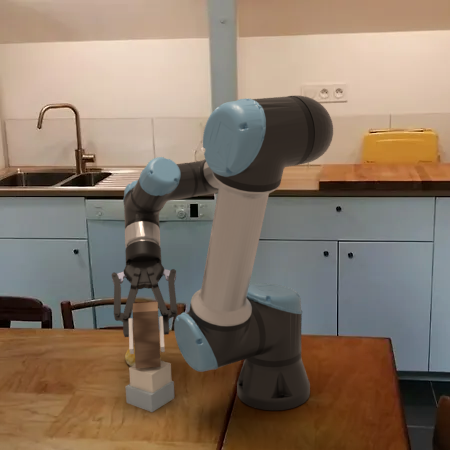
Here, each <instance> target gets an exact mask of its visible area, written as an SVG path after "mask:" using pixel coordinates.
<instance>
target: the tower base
mask: <svg viewBox="0 0 450 450" xmlns="http://www.w3.org/2000/svg"><path fill="white" fill-rule="evenodd" d="M124 388H125V398H126V404H129V405H132V406H134V407H137V408H140V409H143V410H144V411H148V412H151V413H154V412H155V411H156V410H158V409H159V408H161V407H162V406H165V404H167V403H169V402H170V401H172V400H174V399H175V381H173V380H171V382H169V383H168V384H166V385H165V386H163V387H162V388H160V389H158V390H157V391H155V392H154V393H151V392H148V391H145V390H142V389H139V388H136V387H133V386H130V383H128V384H127V385H125V387H124Z"/></svg>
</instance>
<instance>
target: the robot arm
mask: <svg viewBox="0 0 450 450" xmlns="http://www.w3.org/2000/svg"><path fill="white" fill-rule="evenodd" d="M333 136H334V125H333V120H332V118H331V116H330V113H329V112H328V110H327V109H326V108H325V106H324V105H323V104H321V103H320V102H318V101H317V100H316V99H314V98H311V97H308V96H304V95H288V96H277V97H266V98H265V97H263V98H240V99H237V100H233V101H227V102H224V103H221V104H220V105H219V106H217V107H216V108H215V109H214V110H213V111H212V112H211V114H210V115H209V117H208V119H207V120H206V123H205V126H204V130H203V136H202V147H203V149H205V152H203V155H204V159H202V160H198V161H191V162H183V163H176V162H175V161H173V159H171V158H165V157H164V156H163V157H162V156H157V157H154V158H152V159H151V160H149V162H147V164H146V166H145V167H144V168H143V169H142V171H141V173H140V176H139V178H138V179H137V180H133V181H132V182H131V183H128V184H127V185H126V186H125V188H124V191H123V193H124V194H123V206H124V207H123V210H124V246H125V252H124V253H125V267H124V269H123V271H122V272H112V273H111V279H112V283H113V287H114V288H113V316H114V320H115V321H117V322H118V321H119V322H122V332H123V337H124V338H128V341H129V342H128V344H129V345H128V346H129V348H128V349H129V350H130V354H134V330H133V317H131V316H132V314H133V313H132V312H133V303H136V302H135V301H136V299H137V294H138V292H139V290H143V289H151V291H152V294H153V295H154V298H155V302H158V311H159V312H160V316H159V315H158V318H159V339H160V353H165V351H166V349H165V335H166V336H167V335H169V334H170V319H171V318H175V319H174V324H173V328H174V329H173V330H174V336H175V340H176V343H177V344H176V345H177V347H178V349H179V352H180V353H181V355H182V358H183V360H184V361H185V363H187V364H188V366H189V367H190V368H192V369H193V370H194V371H197V372H207V371H211V370H218V369H220V368H222V367H225V366H229V365H231V364H234V363H238V362H240V361H243V364H242V367H241V369H240V373H239V376H238V379H237V384H236V386H237V387H236V392H237V393H236V394H237V397H238V398H239V400H240V401H241V402H242V403H243V404H245V405H247V406H249V407H252V408H254V409H257V410H263V411H284V410H290V409H294V408H297V407H299V406H301V405H303V404H304V403H306V402H307V401H308V399H309V398H310V395H311V394H310V393H311V389H310V388H311V384H310V380H309V378H308V375H307V372H306V367H305V365H304V362H303V359H302V317H303V315H302V314H303V310H302V298H301V295H300V293H299V292H297V291H296V290H295V289H294V288H291V287H288V286H284V285H281V284H275V283H268V282H267V283H266V282H263V283H261V282H260V283H251V279H252V274H253V269H254V264H255V261H256V255H257V251H258V246H259V242H260V237H261V232H262V228H263V223H264V218H265V215H266V214H265V213H266V211H267V210H266V209H267V204H268V200H269V196H270V195H269V194H271V193H273V192H274V191H277V189H279V187H280V185H281V182H282V178H283V173H284V169H285V168H287V167H293V166H295V167H296V166H299V165H304V164H309V163H311V162H314V161H315V160H318V159H319V158H321V157H322V156H323V155H324V154H325V153H326V152H327V151H328V149H329V148H330V146H331V144H332V141H333ZM214 194H215V195H217V197H216V202H215V209H214V213H213V219H212V225H211V230H210V237H209V243H208V248H207V255H206V260H205V264H204V265H205V266H204V270H203V276H202V283H201V287H200V289H199V290H197V291H195V293H194V294H192V297H191V300H190V303H189V304H190V306H189V310H188V311H187V312H185V311H183V312H182V313H181V314H178V304H177V297H176V296H177V295H176V288H175V285H176V284H175V282H176V279H177V270H176V269H175V268H172V269H170V270H169V269H165V268H164V265H163V264H162V249H161V232H160V230H161V229H160V212H161V210H162V209H163V208H164V206H165V204H167V202H169V201H177V200H182V199H183V200H184V199H189V198H193V197H198V196H199V197H200V196H206V195H214ZM163 276H164V277H165V280H166V281H167V282H168V283H167V285H168V293H169V294H168V295H169V297H168V298H169V304H170V309H168V308H167V305H166V303H165V300H164V298H163V294H162V292H161V290H160V286H159V281H161V279H162V277H163ZM124 279H126V280H127V281H128V282H129V283H130V287H129V288H130V289H129V292H128V295H127V299H126V303H125V307H124V310H123V312H122V307H121V305H122V286H121V285H122V284H123V283H124Z"/></svg>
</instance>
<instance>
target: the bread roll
mask: <svg viewBox="0 0 450 450" xmlns="http://www.w3.org/2000/svg"><path fill="white" fill-rule="evenodd" d="M124 354H125V356H124V359H125V362H126V364H127V365H128V366H129V367H131V366H133V365H135V347H134V354H130V350H129V348H128V349H127V351H126V353H124ZM160 360H161V361H162V354H161V353H160Z"/></svg>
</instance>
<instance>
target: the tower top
mask: <svg viewBox="0 0 450 450" xmlns="http://www.w3.org/2000/svg"><path fill="white" fill-rule="evenodd" d="M171 364H172V363H170V362H167V361H164V360H161V367H149V368H136V364H135V365H133V366H129V368H128V371H129V384H130V386H133V387H136V388H139V389H142V390H145V391H148V392H151V393H154V392H155V391H157V390H158V389H160V388H162V387H163V386H165V385H166V384H168V383H169V382H171V381H172V365H171Z"/></svg>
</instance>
